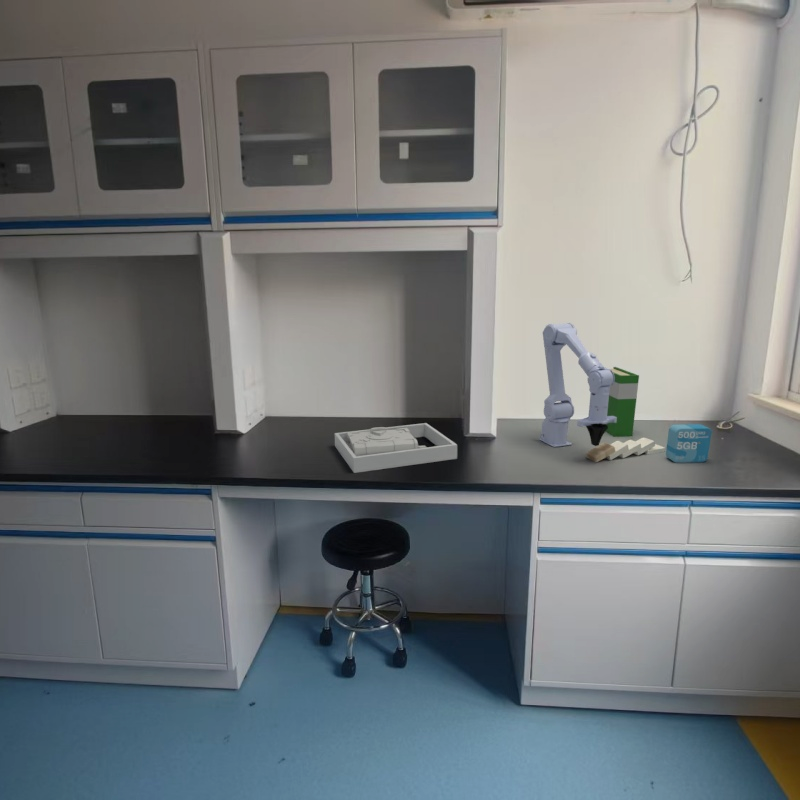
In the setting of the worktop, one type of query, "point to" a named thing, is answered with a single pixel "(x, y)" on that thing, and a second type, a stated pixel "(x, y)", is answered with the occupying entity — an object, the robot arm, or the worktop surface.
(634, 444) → the domino
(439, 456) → the tray
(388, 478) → the worktop surface
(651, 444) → the domino
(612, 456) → the domino
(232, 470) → the worktop surface
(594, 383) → the robot arm
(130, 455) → the worktop surface
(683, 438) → the data package
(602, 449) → the domino
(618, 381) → the hardback book
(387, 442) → the grey case
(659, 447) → the domino
